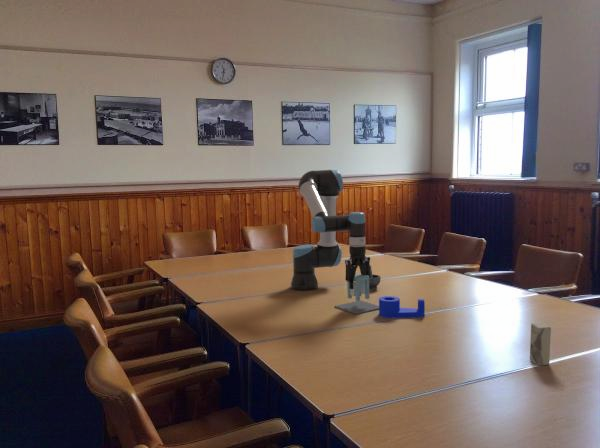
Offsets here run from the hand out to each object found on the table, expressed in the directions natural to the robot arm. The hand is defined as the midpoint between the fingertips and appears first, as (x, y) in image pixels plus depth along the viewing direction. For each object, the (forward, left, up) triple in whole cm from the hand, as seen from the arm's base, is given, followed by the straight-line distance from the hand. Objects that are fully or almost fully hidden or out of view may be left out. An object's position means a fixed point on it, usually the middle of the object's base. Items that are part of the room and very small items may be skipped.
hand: (358, 294), depth 243 cm
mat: (0, 0, -6) cm, 6 cm away
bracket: (+21, +7, -7) cm, 23 cm away
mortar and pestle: (-25, +30, -7) cm, 40 cm away
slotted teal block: (0, 0, -2) cm, 2 cm away
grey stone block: (+89, +3, -7) cm, 89 cm away
